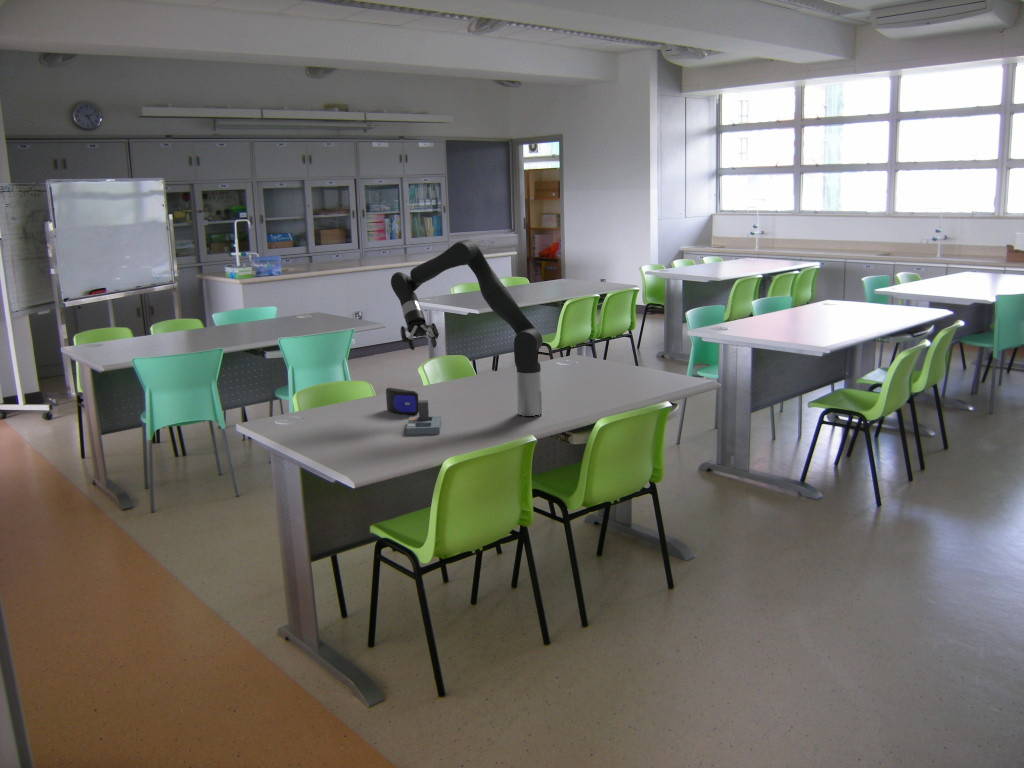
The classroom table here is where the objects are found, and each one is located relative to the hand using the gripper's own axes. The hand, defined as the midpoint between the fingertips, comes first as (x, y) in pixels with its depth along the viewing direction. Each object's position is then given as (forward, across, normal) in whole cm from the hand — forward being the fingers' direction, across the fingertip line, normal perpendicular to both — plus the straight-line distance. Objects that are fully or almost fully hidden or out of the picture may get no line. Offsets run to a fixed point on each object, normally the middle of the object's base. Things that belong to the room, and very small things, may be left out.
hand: (424, 347), depth 322 cm
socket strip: (+31, -7, +8) cm, 32 cm away
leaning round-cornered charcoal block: (+12, -7, +27) cm, 30 cm away
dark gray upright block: (+28, -6, +10) cm, 30 cm away
